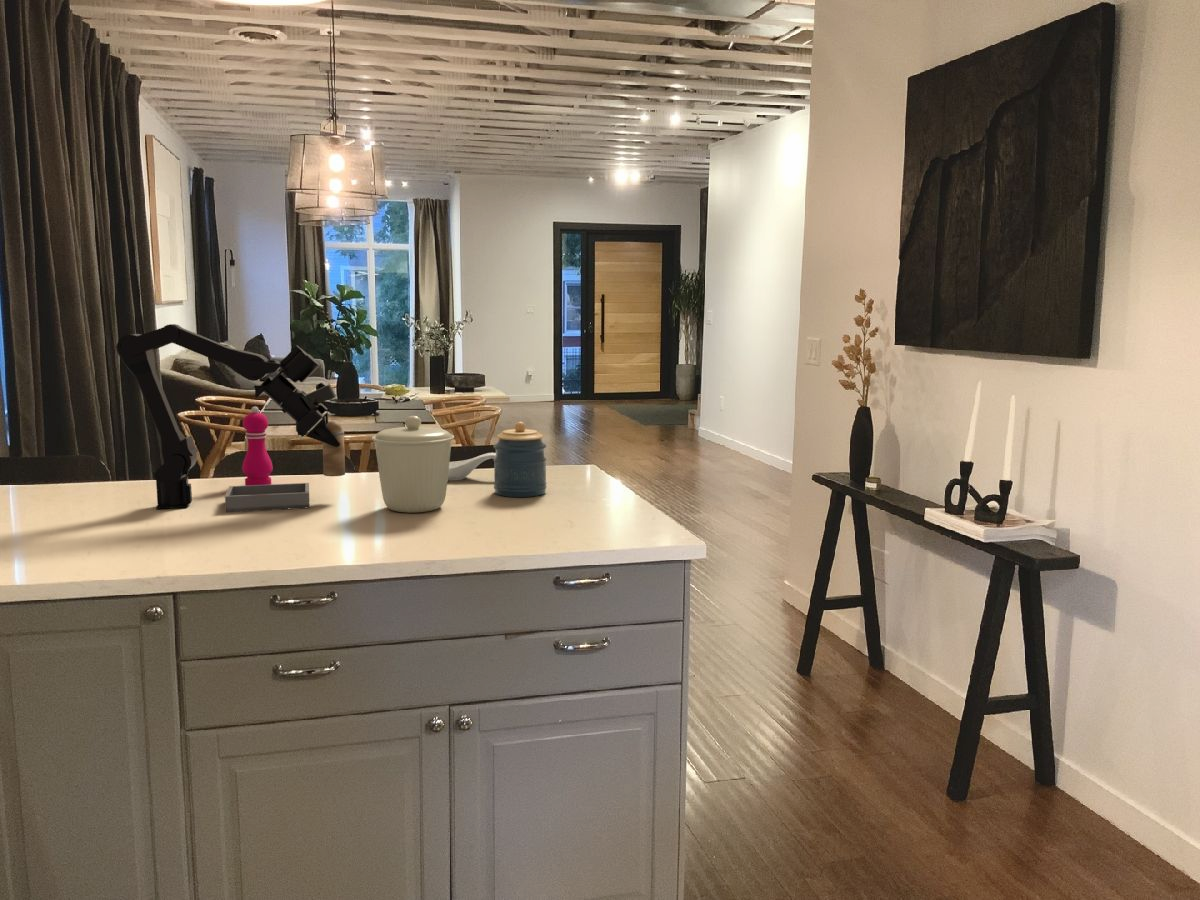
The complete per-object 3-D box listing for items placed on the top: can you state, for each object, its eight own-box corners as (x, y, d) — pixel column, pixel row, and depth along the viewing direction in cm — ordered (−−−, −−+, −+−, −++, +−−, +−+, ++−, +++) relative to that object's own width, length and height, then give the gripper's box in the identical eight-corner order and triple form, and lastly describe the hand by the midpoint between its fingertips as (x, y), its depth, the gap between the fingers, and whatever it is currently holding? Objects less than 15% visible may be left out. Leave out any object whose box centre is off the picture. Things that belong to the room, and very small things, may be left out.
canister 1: (437, 519, 202) (436, 421, 199) (359, 514, 205) (356, 419, 202) (466, 502, 219) (465, 412, 216) (393, 498, 223) (391, 410, 220)
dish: (225, 512, 206) (225, 496, 206) (230, 501, 218) (229, 486, 218) (309, 508, 211) (309, 492, 211) (309, 497, 223) (308, 482, 223)
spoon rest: (424, 482, 245) (423, 455, 244) (433, 475, 256) (433, 449, 255) (514, 484, 244) (514, 457, 243) (520, 476, 255) (519, 450, 254)
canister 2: (550, 488, 237) (550, 419, 235) (542, 498, 225) (542, 425, 222) (499, 487, 239) (499, 418, 236) (488, 497, 226) (488, 424, 223)
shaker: (323, 476, 216) (321, 422, 214) (323, 473, 220) (321, 420, 218) (345, 475, 217) (344, 422, 215) (344, 472, 222) (343, 419, 220)
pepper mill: (267, 488, 234) (263, 408, 231) (238, 487, 234) (234, 407, 231) (277, 482, 241) (274, 405, 238) (249, 482, 242) (246, 404, 239)
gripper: (309, 374, 205) (363, 424, 209) (316, 369, 223) (365, 415, 227) (273, 411, 205) (327, 460, 209) (283, 402, 223) (332, 447, 227)
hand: (339, 444), depth 218 cm, fingers closed on shaker, 5 cm apart
